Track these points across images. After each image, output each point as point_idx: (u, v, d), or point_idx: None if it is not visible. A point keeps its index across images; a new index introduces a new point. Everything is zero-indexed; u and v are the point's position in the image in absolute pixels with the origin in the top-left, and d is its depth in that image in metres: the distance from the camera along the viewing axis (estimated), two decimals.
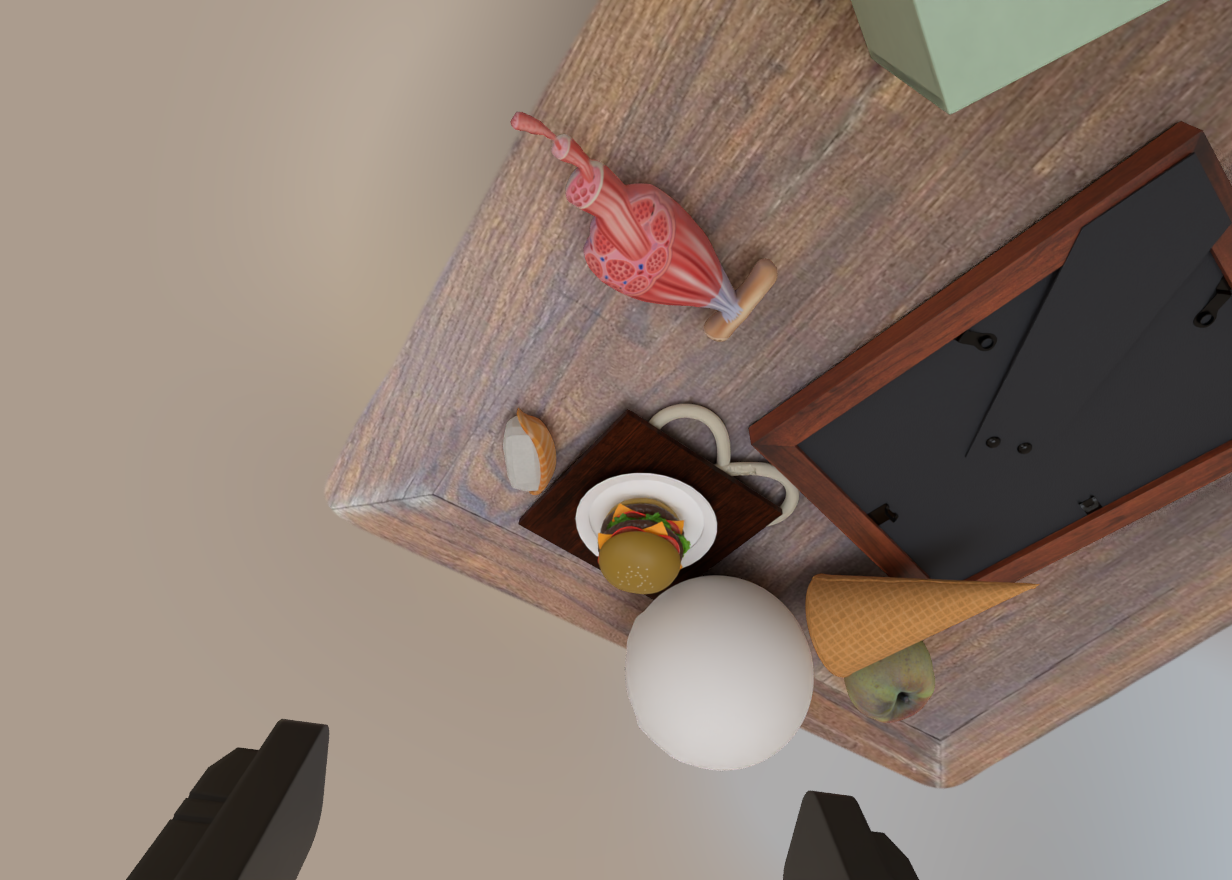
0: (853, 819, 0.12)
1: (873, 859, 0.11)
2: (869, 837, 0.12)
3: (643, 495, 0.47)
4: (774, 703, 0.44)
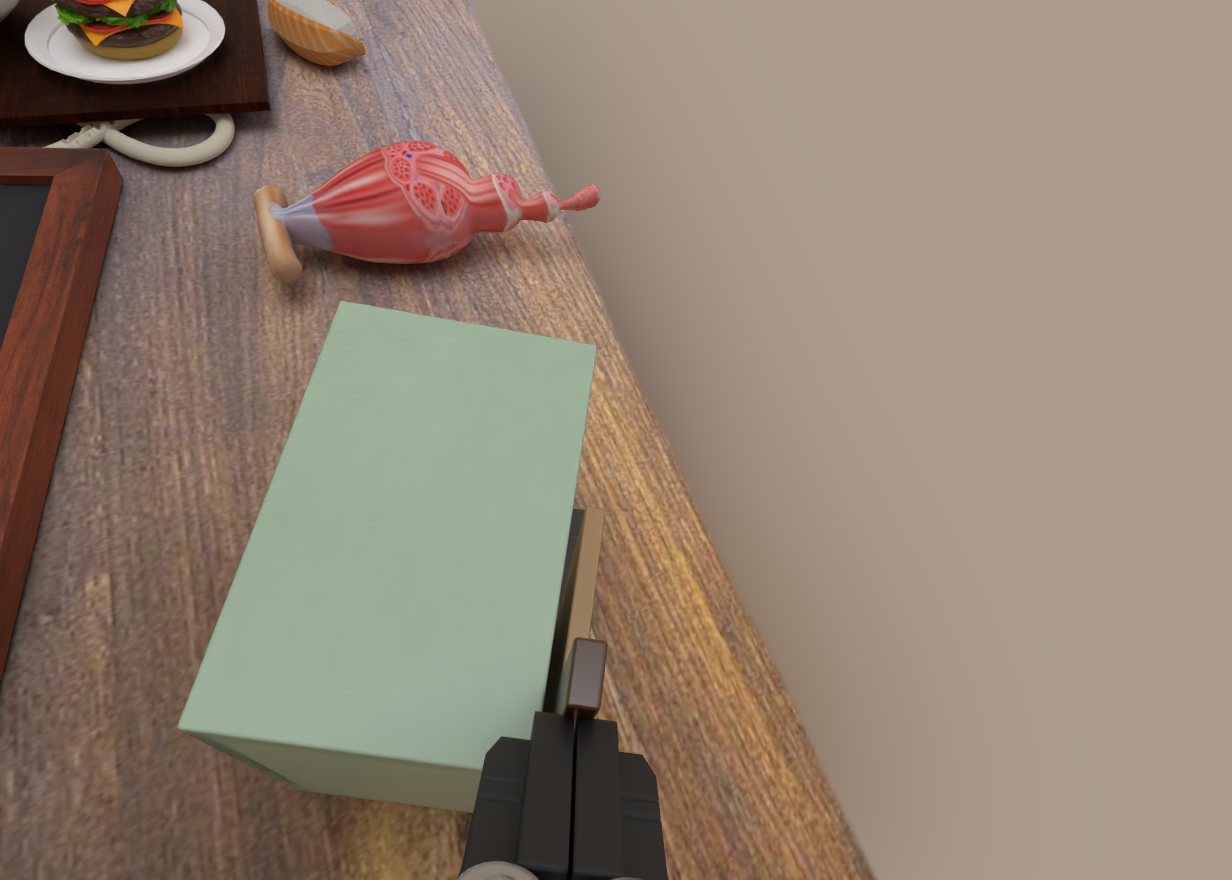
0: (605, 739, 0.13)
1: (608, 772, 0.12)
2: (613, 754, 0.12)
3: (163, 56, 0.38)
4: None
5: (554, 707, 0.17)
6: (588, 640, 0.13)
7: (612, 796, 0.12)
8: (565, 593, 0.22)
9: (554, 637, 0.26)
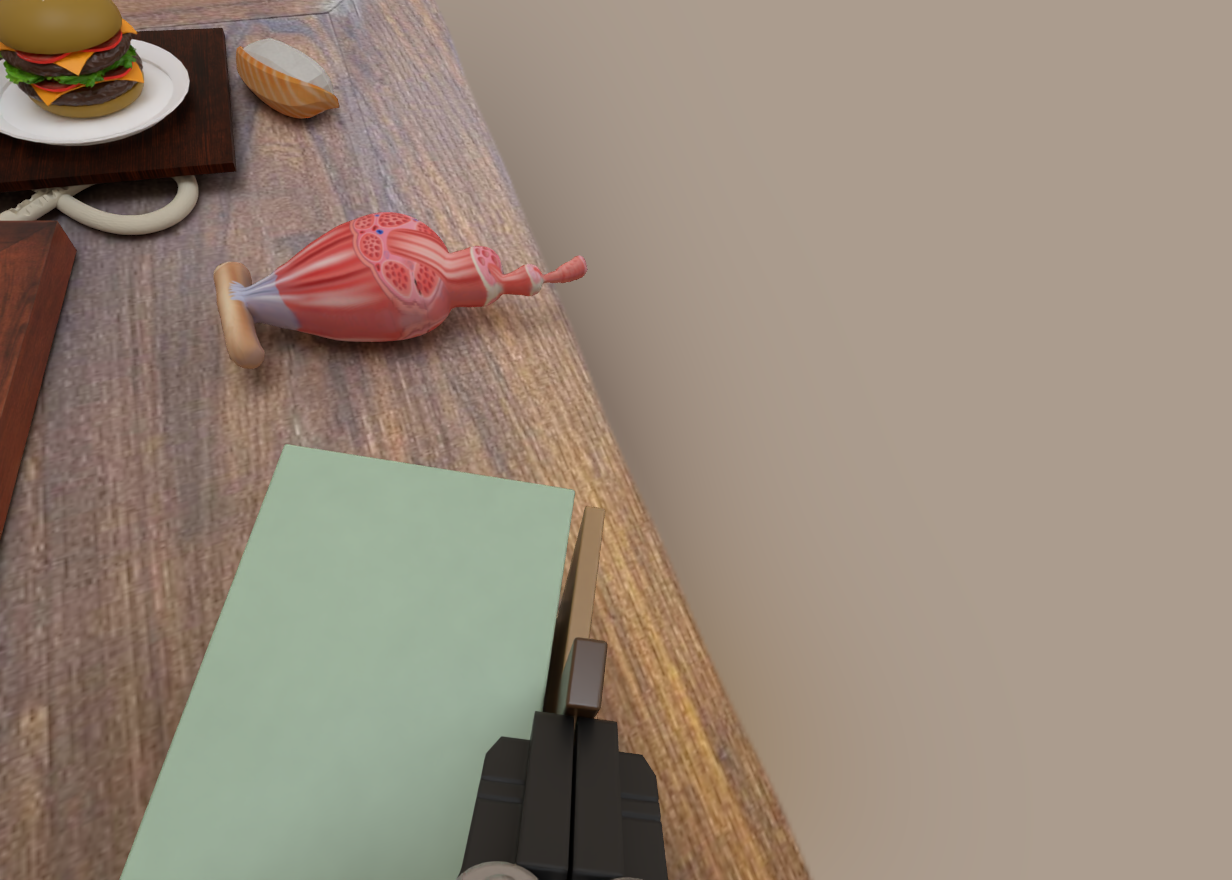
0: (605, 739, 0.13)
1: (608, 772, 0.12)
2: (614, 754, 0.12)
3: (123, 113, 0.36)
4: None
5: (554, 707, 0.17)
6: (588, 640, 0.13)
7: (612, 796, 0.12)
8: (565, 592, 0.22)
9: (554, 636, 0.26)
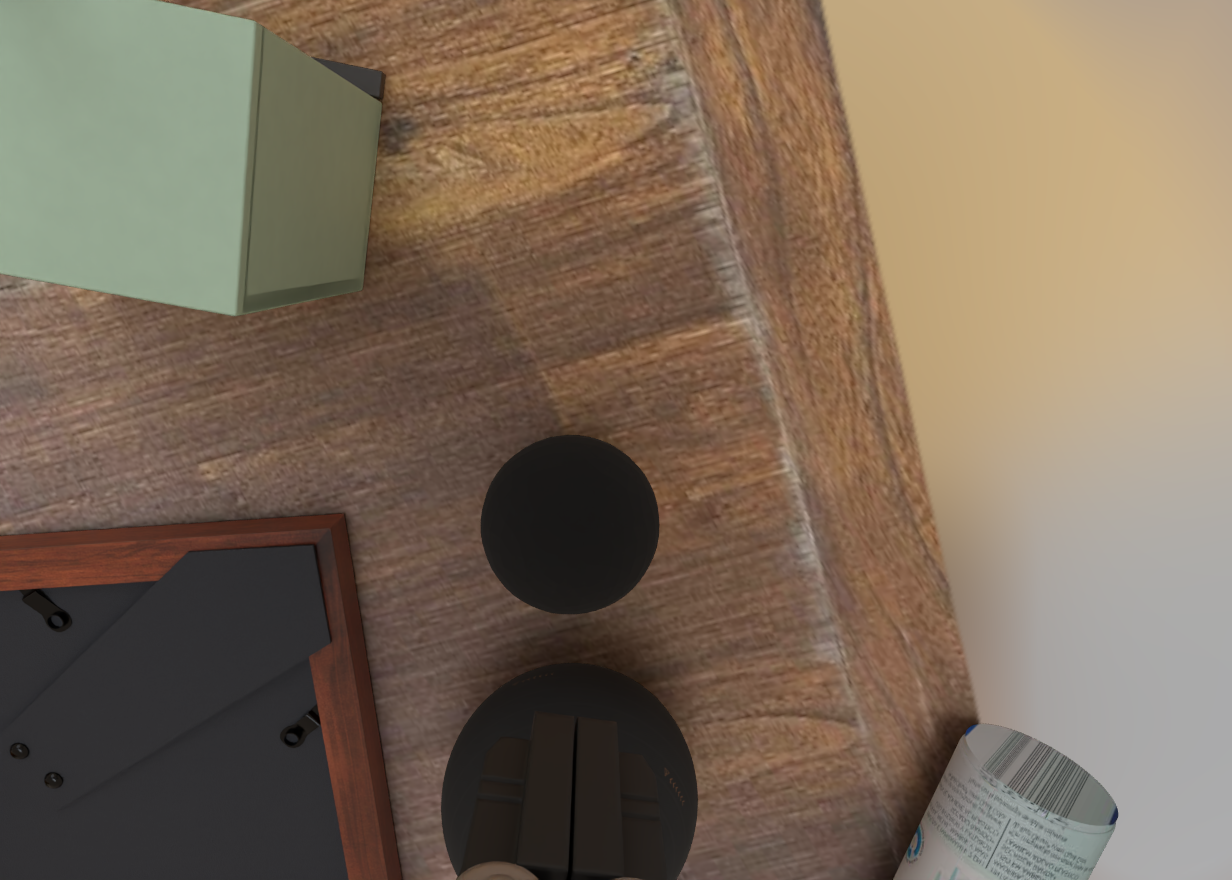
0: (605, 739, 0.13)
1: (608, 772, 0.12)
2: (613, 754, 0.12)
3: None
4: None
5: None
6: None
7: (612, 796, 0.12)
8: None
9: None
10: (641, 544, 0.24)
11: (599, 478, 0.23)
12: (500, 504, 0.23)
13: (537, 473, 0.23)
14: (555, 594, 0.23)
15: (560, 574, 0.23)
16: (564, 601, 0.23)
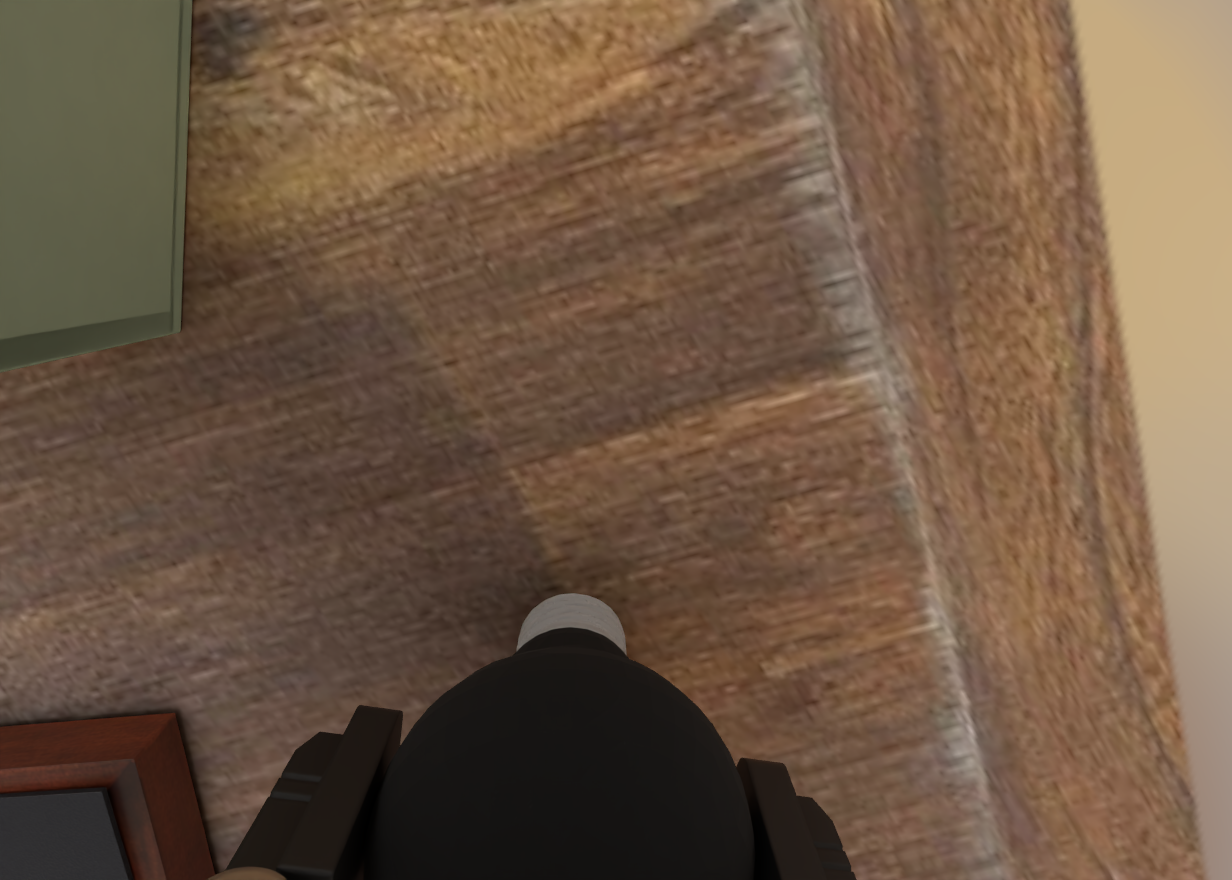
0: (780, 783, 0.12)
1: (794, 819, 0.12)
2: (793, 799, 0.12)
3: None
4: None
5: None
6: None
7: (807, 846, 0.11)
8: None
9: None
10: None
11: (627, 805, 0.10)
12: (392, 863, 0.10)
13: (478, 796, 0.10)
14: None
15: None
16: None
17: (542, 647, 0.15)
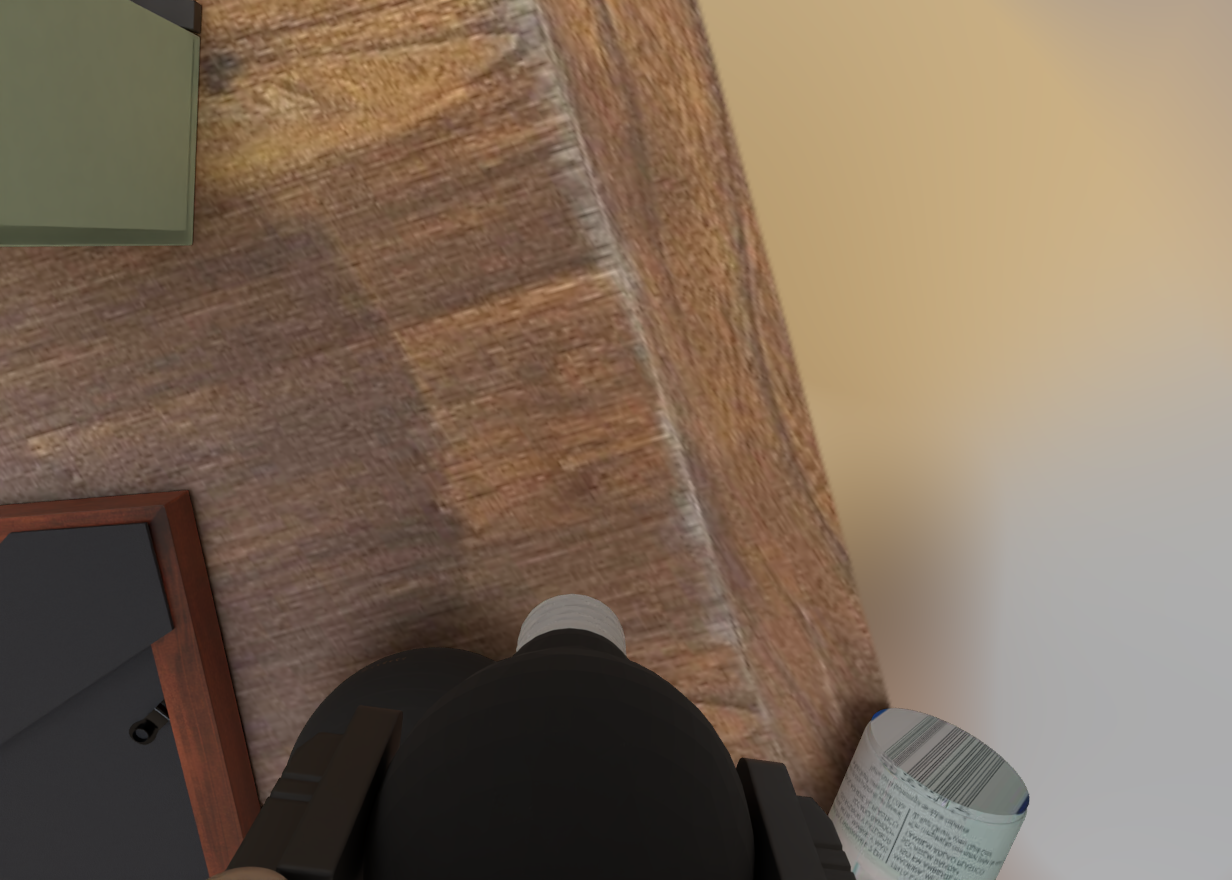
0: (780, 783, 0.12)
1: (794, 819, 0.12)
2: (793, 799, 0.12)
3: None
4: None
5: None
6: None
7: (807, 846, 0.11)
8: None
9: None
10: None
11: (627, 806, 0.10)
12: (392, 864, 0.10)
13: (478, 797, 0.10)
14: None
15: None
16: None
17: (542, 648, 0.15)
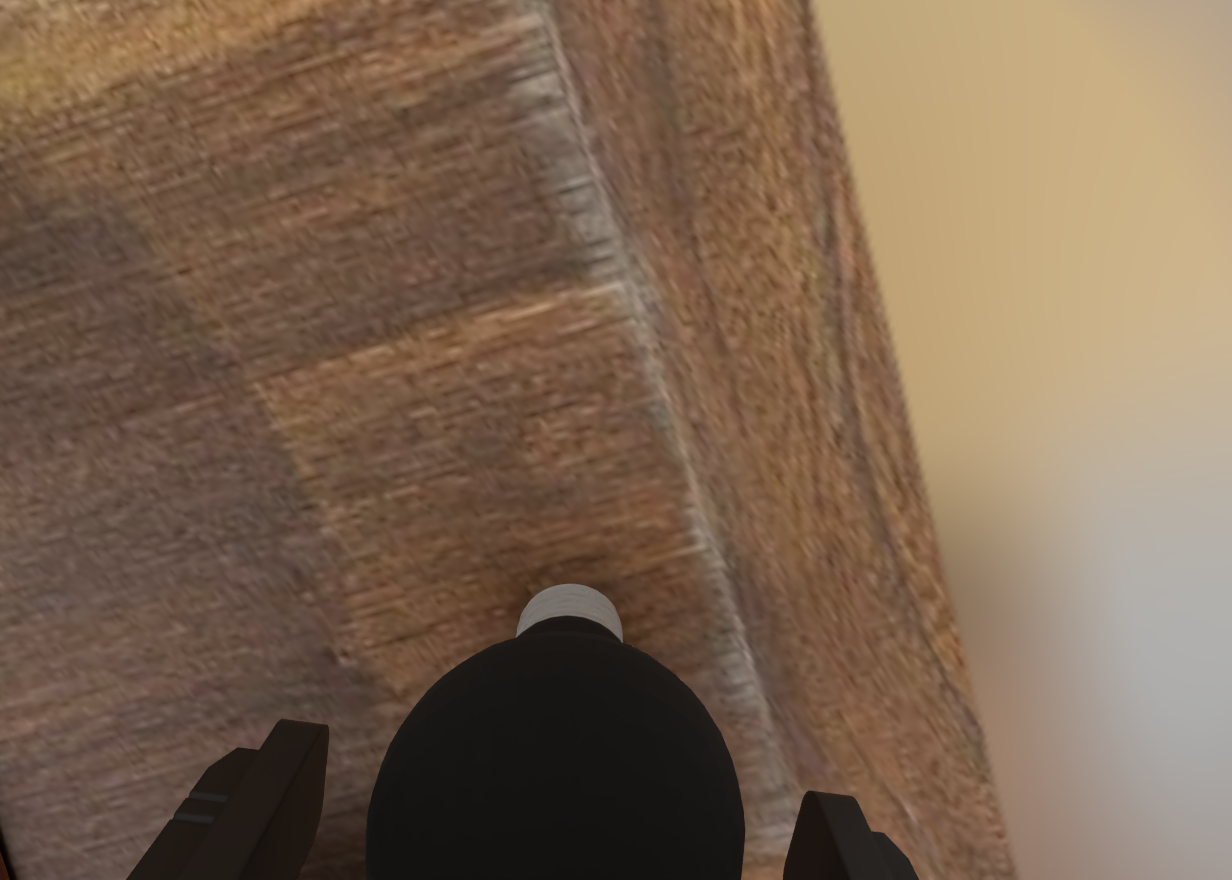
0: (853, 819, 0.12)
1: (873, 859, 0.11)
2: (869, 837, 0.12)
3: None
4: None
5: None
6: None
7: None
8: None
9: None
10: None
11: (620, 779, 0.10)
12: (395, 834, 0.10)
13: (477, 768, 0.10)
14: None
15: None
16: None
17: None
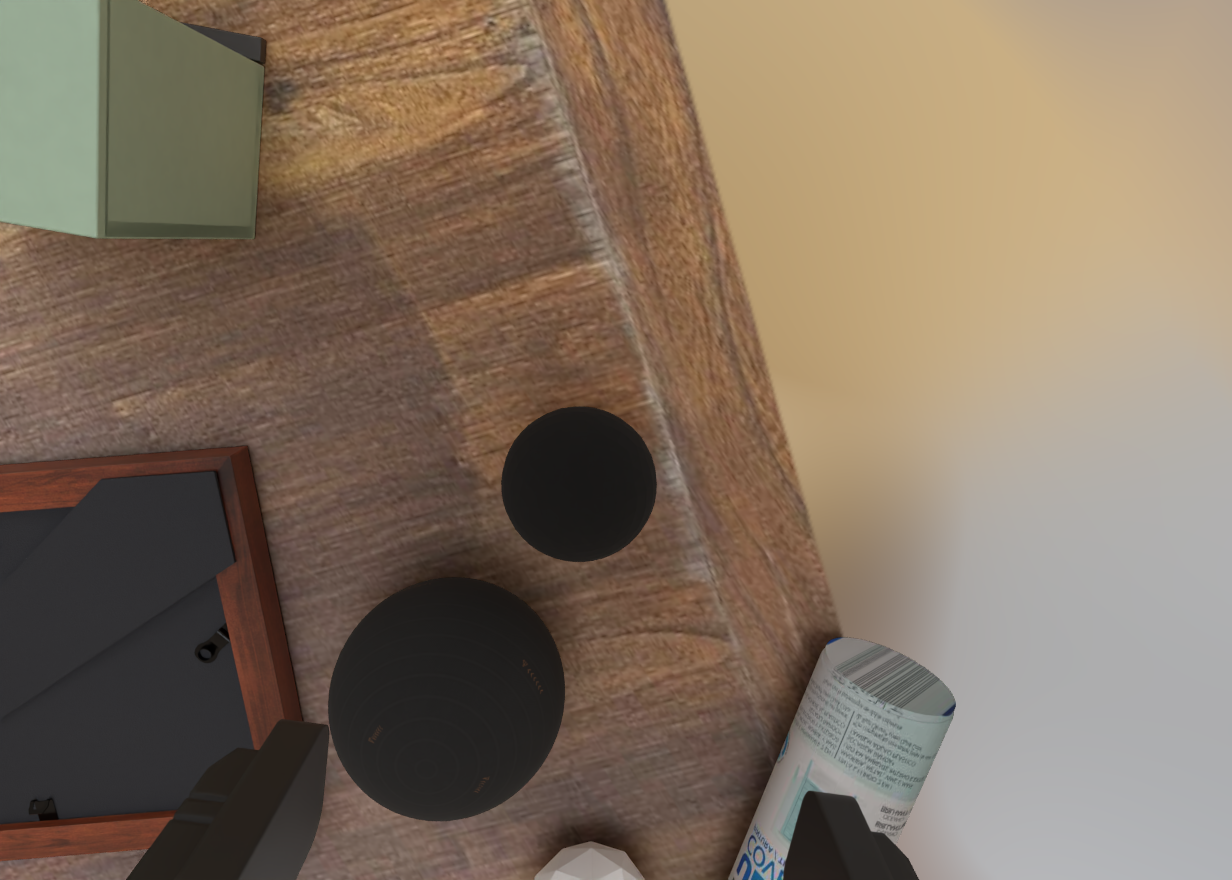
0: (853, 819, 0.12)
1: (873, 859, 0.11)
2: (869, 837, 0.12)
3: None
4: None
5: None
6: None
7: None
8: None
9: None
10: (641, 498, 0.27)
11: (604, 441, 0.27)
12: (518, 465, 0.27)
13: (550, 437, 0.27)
14: (568, 541, 0.27)
15: (572, 523, 0.27)
16: (575, 547, 0.27)
17: None
